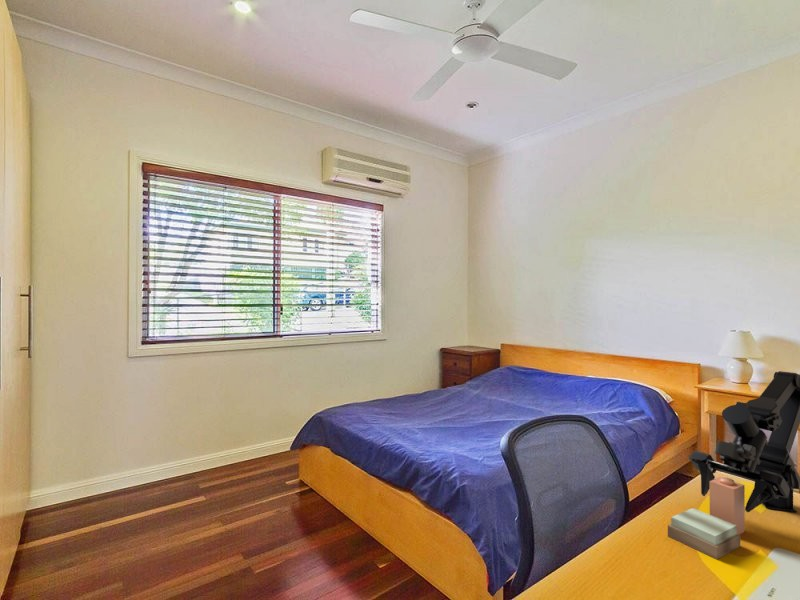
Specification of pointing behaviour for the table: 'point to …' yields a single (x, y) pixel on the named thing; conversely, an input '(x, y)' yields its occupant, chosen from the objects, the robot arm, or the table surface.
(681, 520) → the base brick
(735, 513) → the top brick
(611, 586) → the table surface
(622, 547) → the table surface
